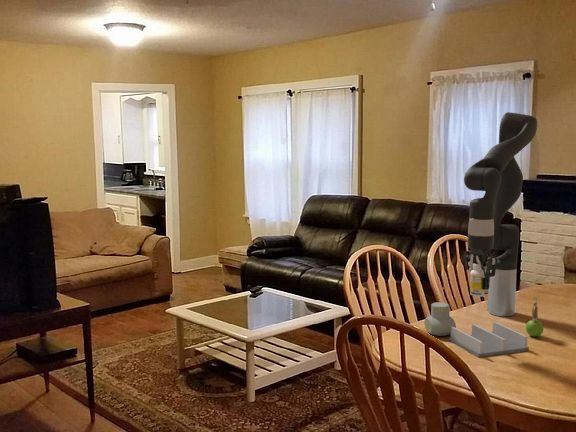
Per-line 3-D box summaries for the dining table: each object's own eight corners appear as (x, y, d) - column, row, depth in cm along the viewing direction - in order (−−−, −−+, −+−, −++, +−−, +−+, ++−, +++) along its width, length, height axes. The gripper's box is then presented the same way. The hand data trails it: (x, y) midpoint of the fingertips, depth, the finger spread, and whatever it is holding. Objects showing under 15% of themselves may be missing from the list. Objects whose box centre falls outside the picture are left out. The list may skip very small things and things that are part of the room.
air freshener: (422, 329, 207) (423, 300, 206) (445, 328, 208) (446, 299, 207) (433, 339, 197) (433, 309, 195) (457, 338, 197) (458, 308, 196)
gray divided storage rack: (448, 340, 195) (448, 326, 195) (496, 334, 201) (496, 321, 200) (478, 357, 180) (478, 342, 180) (528, 350, 186) (529, 336, 185)
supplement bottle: (483, 292, 190) (484, 261, 189) (490, 296, 185) (492, 265, 183) (467, 292, 190) (467, 262, 188) (473, 297, 184) (474, 266, 183)
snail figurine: (542, 333, 201) (543, 298, 200) (543, 339, 195) (545, 303, 194) (524, 331, 203) (526, 297, 202) (525, 337, 197) (527, 302, 196)
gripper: (506, 235, 179) (504, 291, 181) (477, 229, 193) (475, 281, 195) (484, 237, 177) (482, 293, 179) (456, 230, 190) (455, 282, 193)
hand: (479, 286), depth 187 cm, fingers closed on supplement bottle, 5 cm apart
